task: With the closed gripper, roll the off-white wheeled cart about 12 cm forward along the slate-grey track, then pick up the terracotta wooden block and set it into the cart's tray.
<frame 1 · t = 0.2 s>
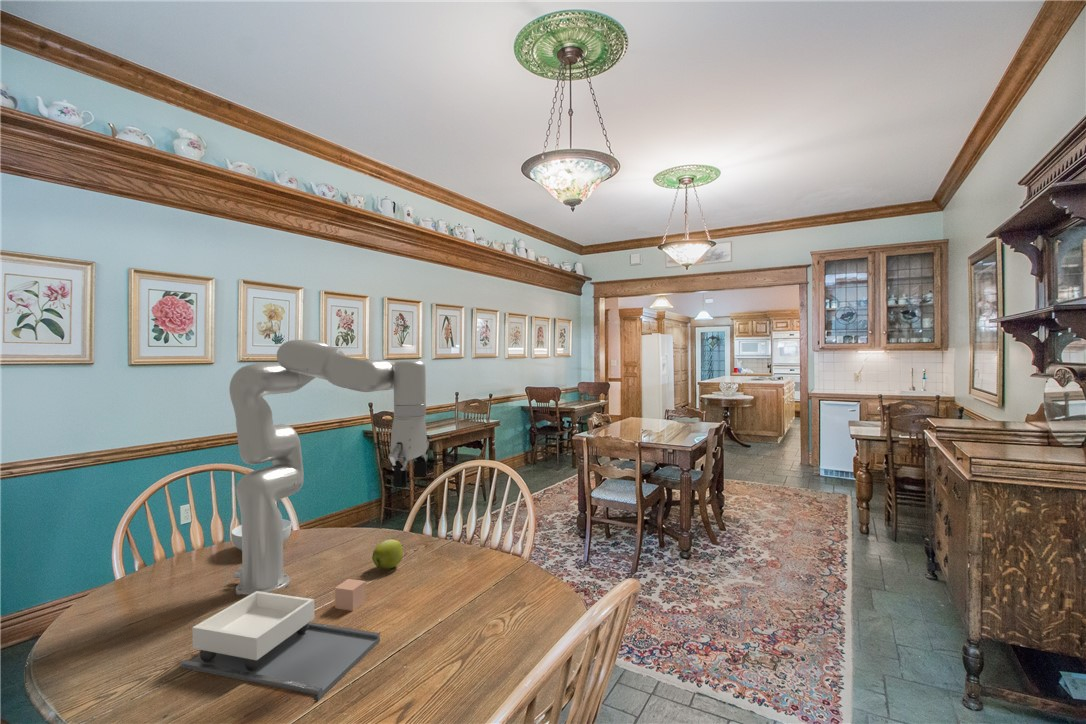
hand: (410, 481, 121), 31 cm above the table, fingers open, 9 cm apart
cart: (256, 629, 104), point 5 cm above the table, slide at 0.0 cm
track: (284, 655, 102), on the table
apple: (389, 568, 145), on the table
cereal bowl: (262, 549, 160), on the table
block: (350, 608, 121), on the table
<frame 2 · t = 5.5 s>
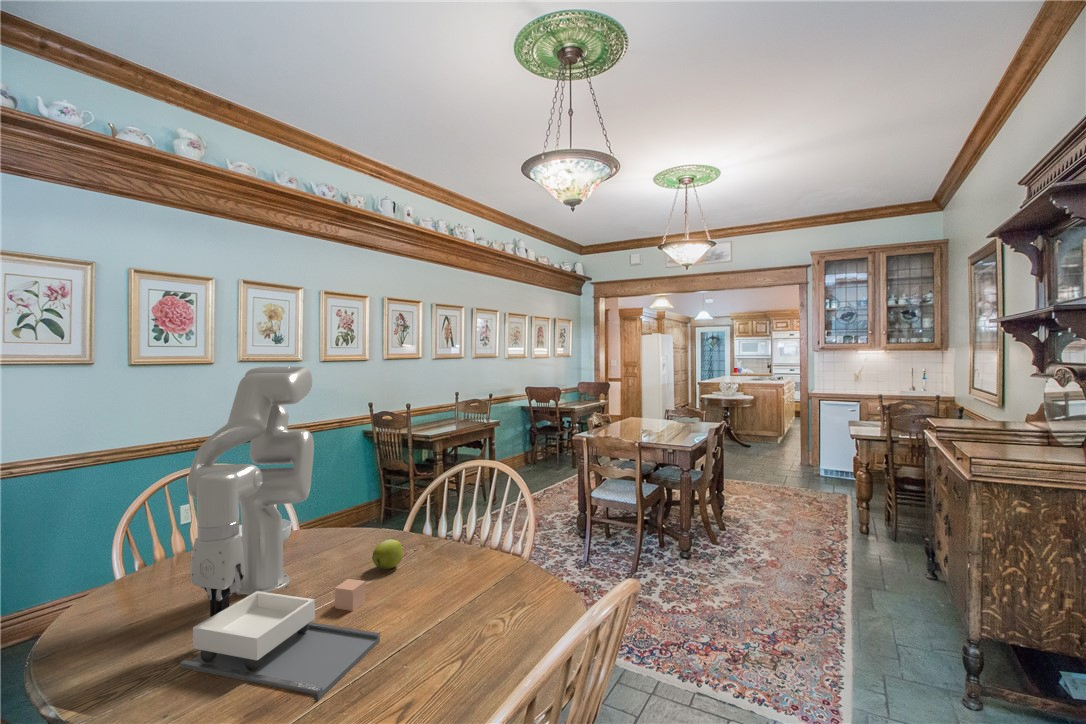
hand: (220, 615, 106), 6 cm above the table, fingers closed
cart: (257, 629, 104), point 5 cm above the table, slide at 0.1 cm, touching gripper
everything else where it was.
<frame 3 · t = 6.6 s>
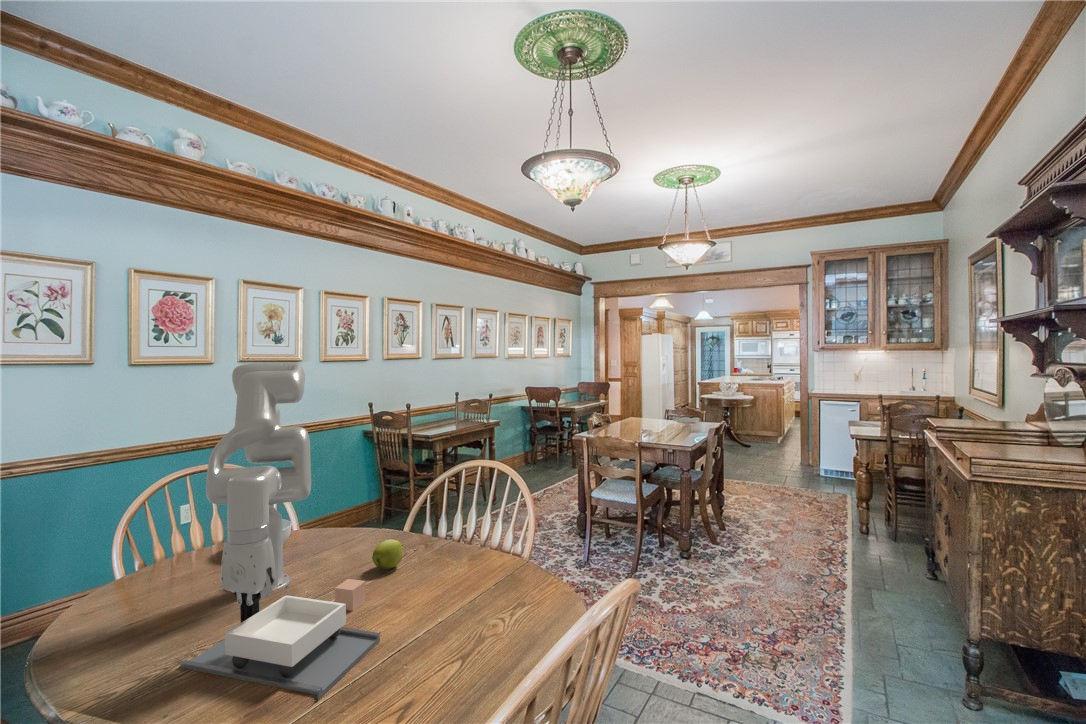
hand: (250, 620, 104), 6 cm above the table, fingers closed
cart: (288, 634, 102), point 5 cm above the table, slide at 8.1 cm, touching gripper
everything else where it was.
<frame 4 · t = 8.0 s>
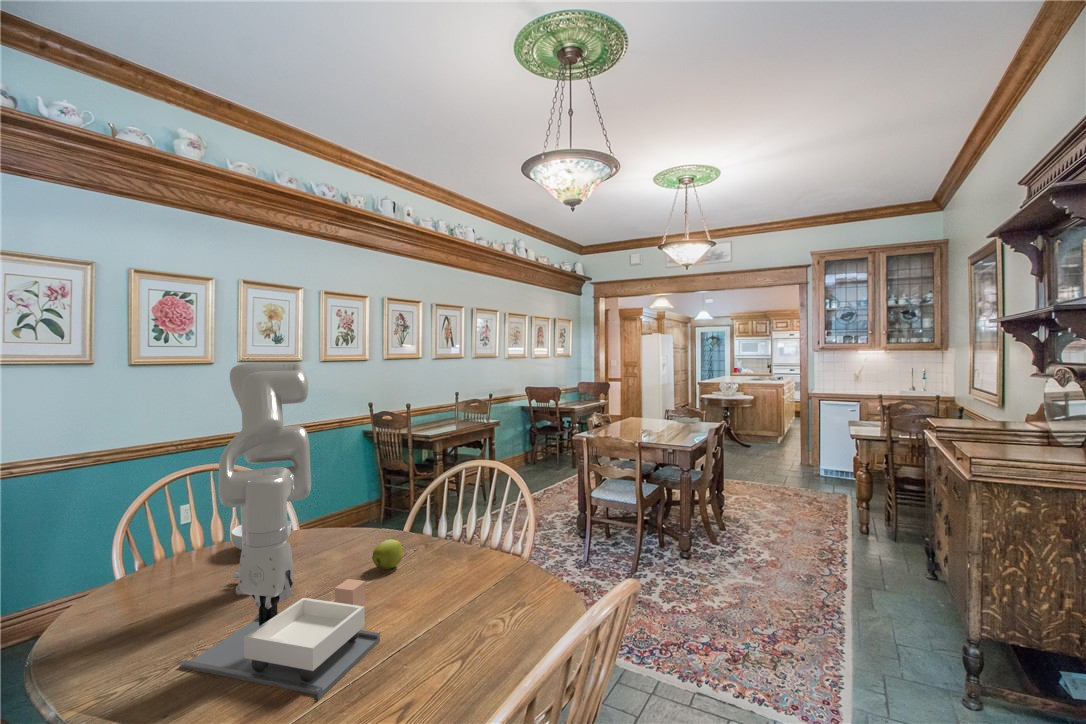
hand: (268, 623, 103), 6 cm above the table, fingers closed
cart: (307, 637, 101), point 5 cm above the table, slide at 12.7 cm, touching gripper
everything else where it was.
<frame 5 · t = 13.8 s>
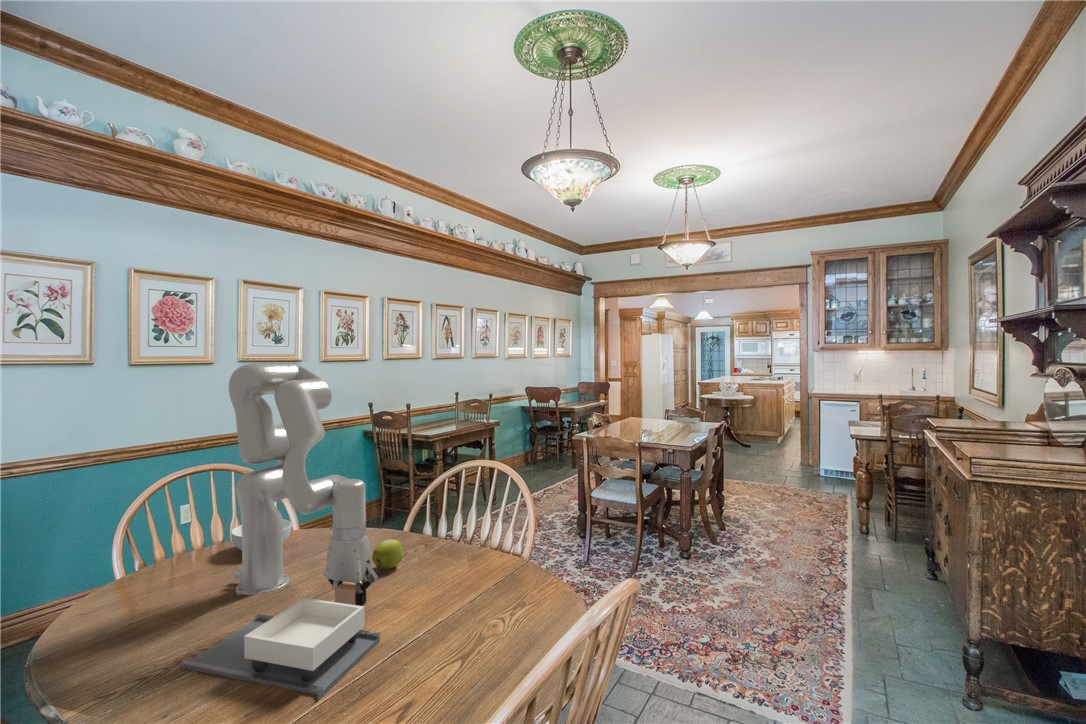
hand: (350, 604, 121), 1 cm above the table, fingers closed on block, 5 cm apart
cart: (307, 637, 101), point 5 cm above the table, slide at 12.7 cm
block: (350, 608, 121), on the table, touching gripper
everything else where it was.
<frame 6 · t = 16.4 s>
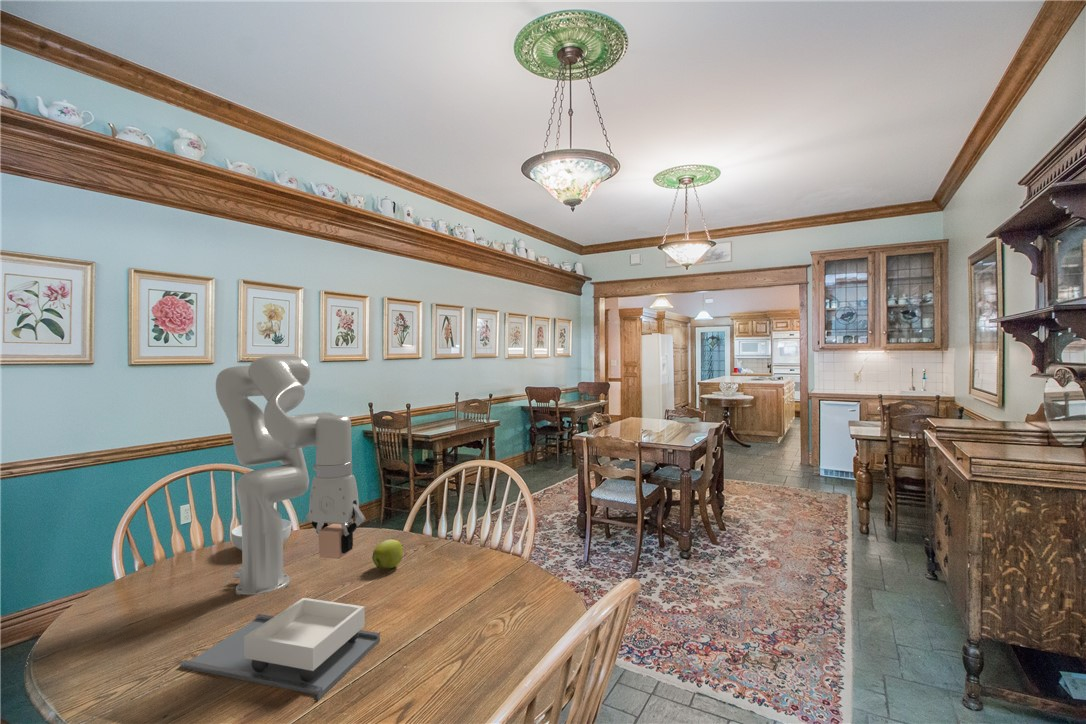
hand: (336, 549, 113), 18 cm above the table, fingers closed on block, 5 cm apart
block: (336, 553, 113), point 17 cm above the table, touching gripper
everything else where it was.
when the fingers open (7 cm above the table, at t = 19.4 s): block drops 1 cm, resting on cart.
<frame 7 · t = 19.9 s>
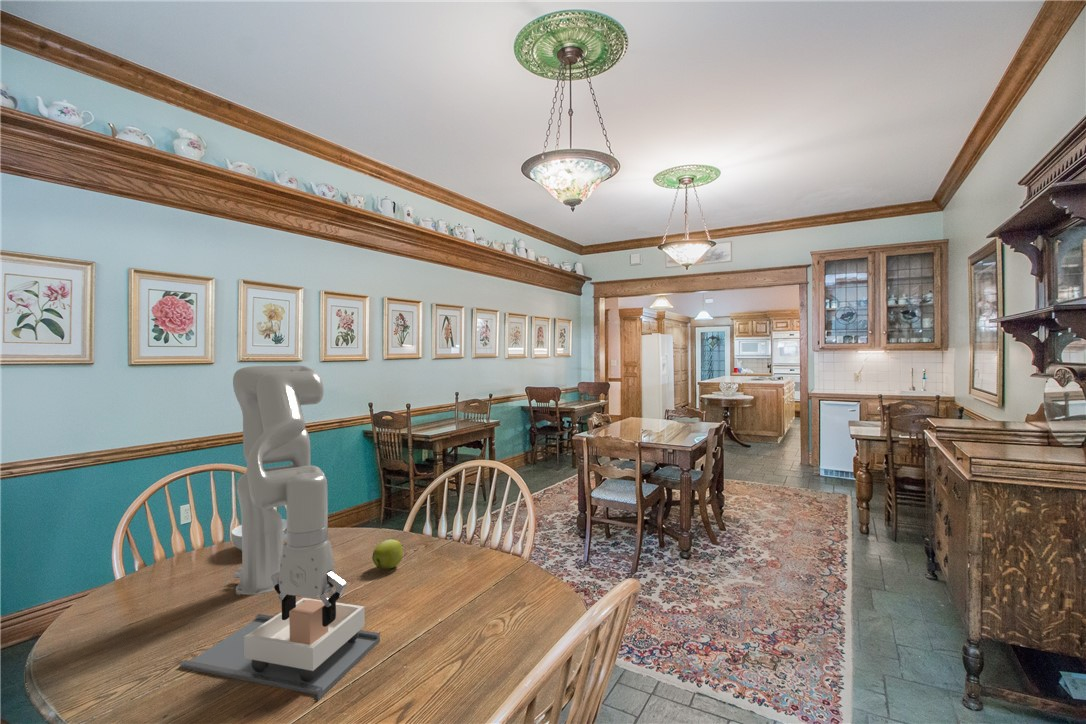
hand: (308, 619, 101), 8 cm above the table, fingers open, 9 cm apart
cart: (307, 637, 101), point 5 cm above the table, slide at 12.7 cm, touching block
block: (309, 636, 101), point 5 cm above the table, touching cart
everything else where it was.
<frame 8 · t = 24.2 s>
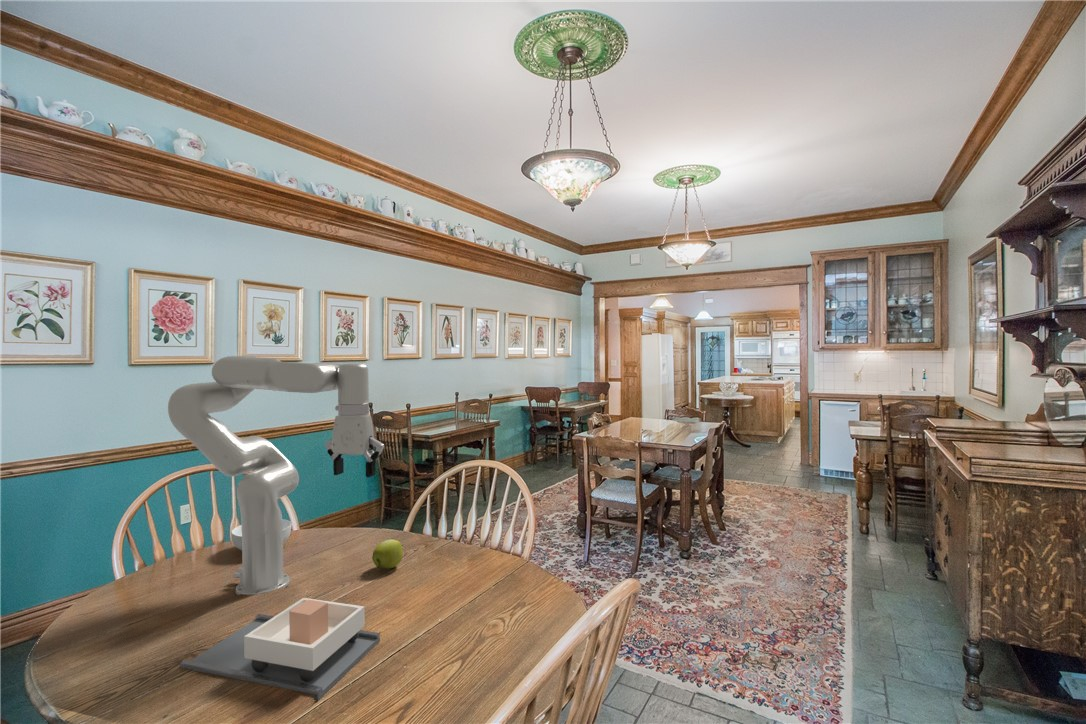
hand: (354, 475, 131), 30 cm above the table, fingers open, 9 cm apart
nothing on the table moved.
at the end: cart slide at 12.7 cm; block inside the target area on the cart (0.3 cm from its centre), point 3.9 cm above the cart's base; the gripper is holding nothing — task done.
